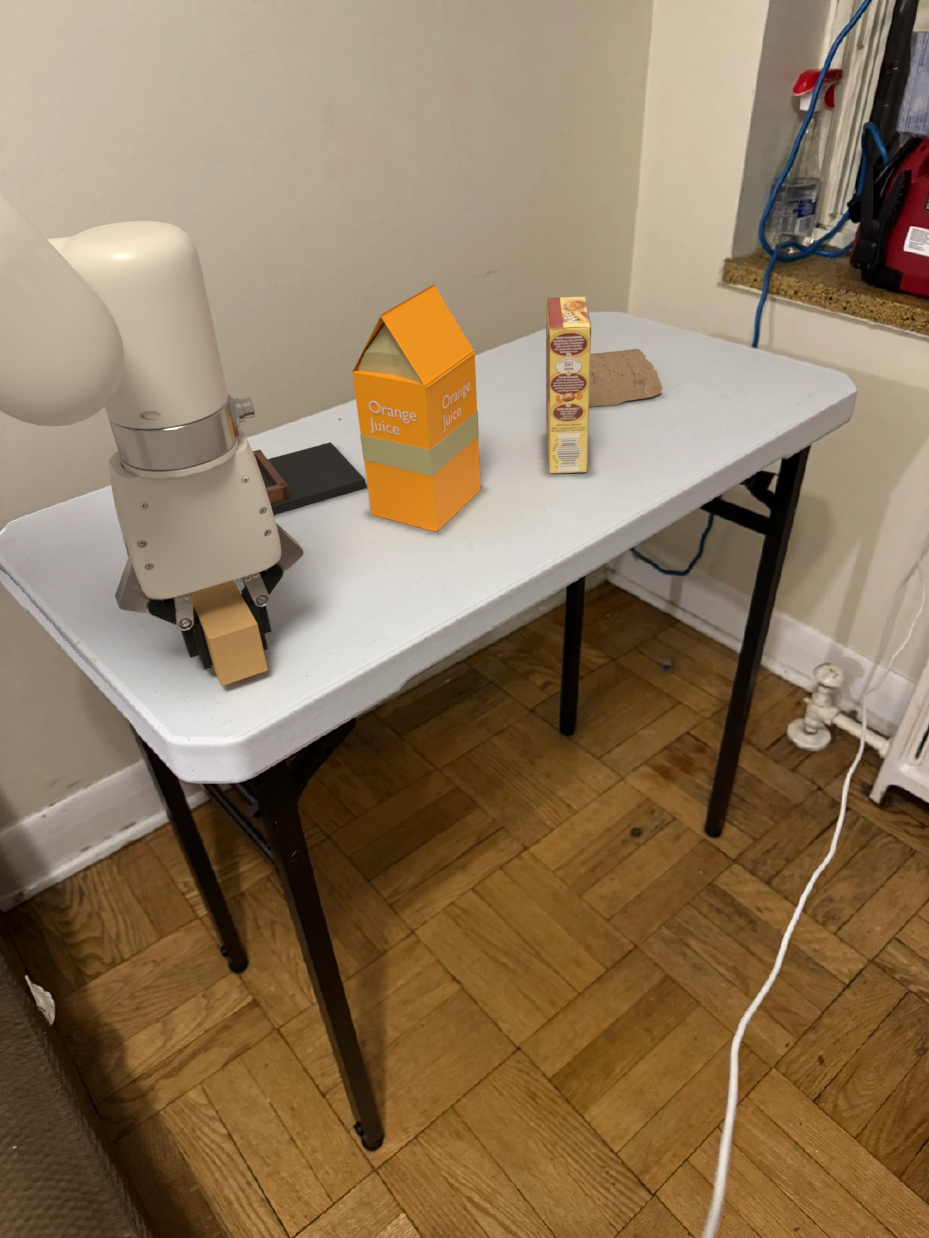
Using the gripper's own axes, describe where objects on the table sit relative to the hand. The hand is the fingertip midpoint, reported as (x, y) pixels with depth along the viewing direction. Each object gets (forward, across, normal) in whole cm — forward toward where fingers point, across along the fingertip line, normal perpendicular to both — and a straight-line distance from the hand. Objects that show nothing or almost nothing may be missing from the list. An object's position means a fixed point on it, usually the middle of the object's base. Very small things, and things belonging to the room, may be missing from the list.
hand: (231, 647), depth 67 cm
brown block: (0, 0, 0) cm, 0 cm away
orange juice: (+1, -24, -14) cm, 28 cm away
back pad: (+1, -10, -25) cm, 27 cm away
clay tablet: (0, -56, -29) cm, 63 cm away
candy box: (+1, -41, -15) cm, 43 cm away
